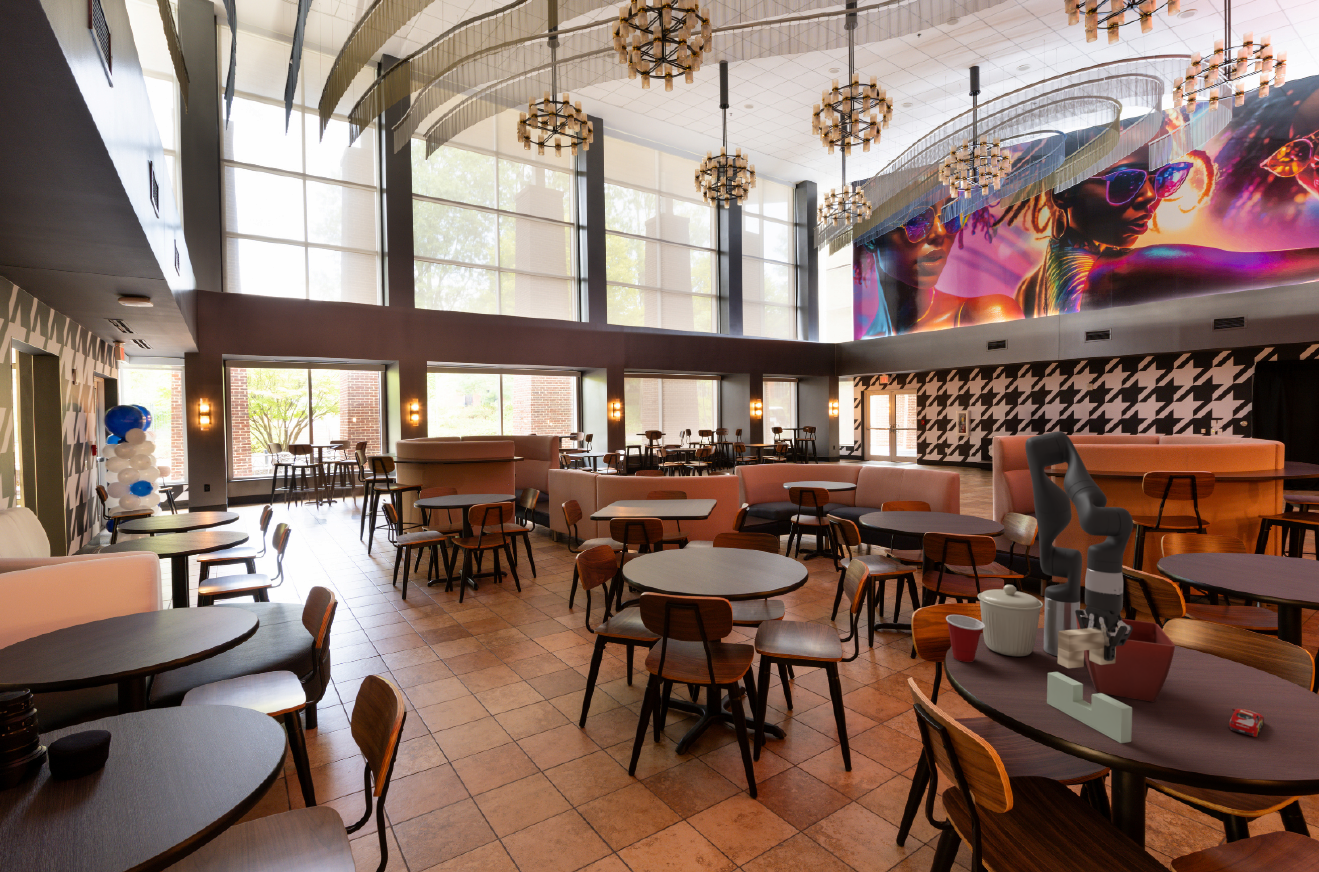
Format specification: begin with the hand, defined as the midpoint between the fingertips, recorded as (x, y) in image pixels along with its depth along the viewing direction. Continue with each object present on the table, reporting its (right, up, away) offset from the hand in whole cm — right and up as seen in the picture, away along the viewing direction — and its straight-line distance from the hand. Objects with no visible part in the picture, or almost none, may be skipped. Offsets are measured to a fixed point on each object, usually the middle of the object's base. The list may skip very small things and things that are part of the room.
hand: (1101, 657), depth 151 cm
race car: (+33, -16, -3) cm, 37 cm away
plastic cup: (-15, -14, +38) cm, 43 cm away
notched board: (-4, -16, -1) cm, 16 cm away
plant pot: (+18, -15, +17) cm, 29 cm away
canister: (+2, -14, +44) cm, 47 cm away
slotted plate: (-4, -1, -1) cm, 5 cm away
